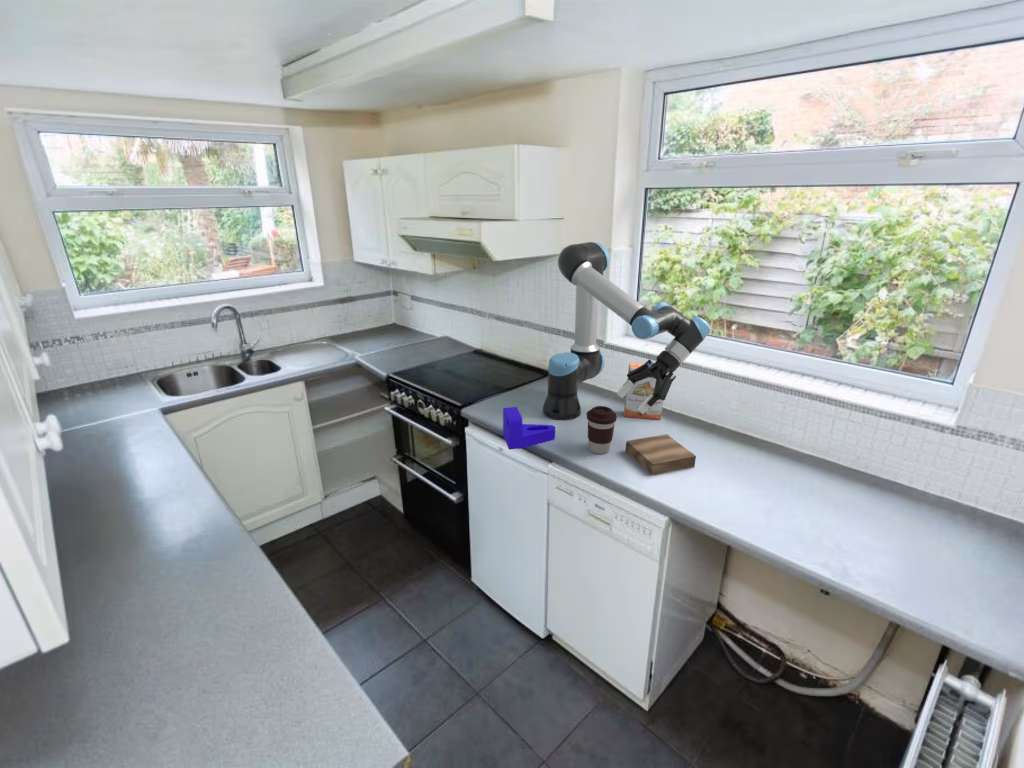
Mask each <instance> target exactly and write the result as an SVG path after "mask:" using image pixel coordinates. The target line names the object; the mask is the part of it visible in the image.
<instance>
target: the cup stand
mask: <svg viewBox="0 0 1024 768" xmlns="http://www.w3.org/2000/svg"><path fill="white" fill-rule="evenodd" d="M625 452H626V453H627V454H628V455H629V456H630V457H631V458H632V459H634V460H635V462H637V463H638V464H639V465H640V466H641V467H642V468H643V469H644V470H645V471H646V472H647V473H649V474H650V475H651V476H654V475H659V474H664V473H670V472H674V471H681V470H686V469H690V468H695V465H696V461H697V460H696V458H697V455H695V454H694V453H693V452H692V451H690V450H689V449H688V448H686V447H684V446H683V445H682V444H681V443H679V442H678V441H676V439H674V438H673V437H671V436H670V435H669V434H667V433H666V434H661V435H654V436H649V437H648V436H647V437H642V438H636V439H631V440H630V439H629V440H626V442H625Z"/></svg>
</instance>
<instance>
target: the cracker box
mask: <svg viewBox="0 0 1024 768" xmlns="http://www.w3.org/2000/svg"><path fill="white" fill-rule="evenodd" d="M643 364H644V363H634V362H633V363H631V362H629V364H628V372H627V374H628V373H630V372H632V371H633V370H635V369H637V368H638V367H640V366H642V365H643ZM649 372H650V371H649ZM631 376H632V375H631ZM627 380H628V378H627ZM627 380H626V381H627ZM655 384H656V379H655V378H652V377H648V378H645V379H643V380H640V381H638V382H635V384H634V386H633V387H632V388H631V389H630V390H629V391H628V392H627V394H626V395H625V398H624V399H625V400H624V409H623V413H624V417H625V418H634V417H635V418H638V419H646V418H647V419H649V420H657V419H658V420H660V421H661V418H662V412H663V411H662V410H663V405H664V404H663V403H664V400H657V401H656V402H655V403H654V404H653V406H650V407H649V409H648V410H647V411H646V412H645V413H644V414H642V413H641V412H640V411H639V410H638V408H639V407H640V405H641V404H642V403H643V402H644V401H645V400H646V399H647V398H648V397H649V396H650V395H651V394H652V393H654V389H655ZM652 395H653V394H652ZM662 395H663V394H662ZM653 396H654V395H653Z"/></svg>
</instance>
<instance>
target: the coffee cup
mask: <svg viewBox="0 0 1024 768" xmlns="http://www.w3.org/2000/svg"><path fill="white" fill-rule="evenodd" d="M617 417H618V415H617V413H616V412H615V411H613V409H611V407H608V406H604V405H596V406H594V407H592V408H591V409H589V410H588V411H587V412H586V419H587V421H588V422H587V438H588V449H589V451H590V452H591V453H593V454H596V455H597V454H598V455H604V454H605V455H606V454H607V453H609V452H610V450H611V445H612V440H613V437H614V436H613V435H614V429H615V423H616V421H617Z"/></svg>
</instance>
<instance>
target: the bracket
mask: <svg viewBox="0 0 1024 768" xmlns="http://www.w3.org/2000/svg"><path fill="white" fill-rule="evenodd" d="M502 436H503V438H504V439H503V440H504V441H505V442H506V446H507V448H508V450H518V449H525V448H528V447H532V446H535V445H539V443H540V444H543V442H544V443H547V442H551V441H554V440H555V439H556V426H555V425H552V424H535V423H534V424H532V423H529V424H528V423H523V418H522V415H521V412H520V411H519V409H518V406H512V407H511V406H510V407H509V406H508V407H503V408H502ZM550 440H551V441H550ZM546 441H547V442H546Z"/></svg>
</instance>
